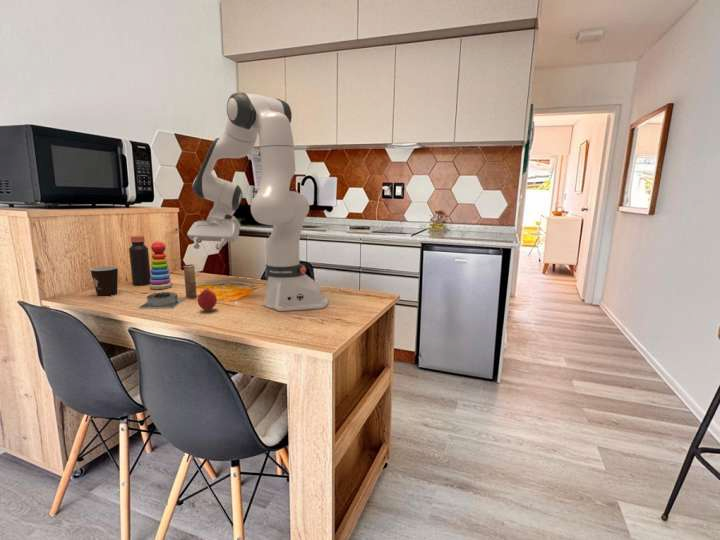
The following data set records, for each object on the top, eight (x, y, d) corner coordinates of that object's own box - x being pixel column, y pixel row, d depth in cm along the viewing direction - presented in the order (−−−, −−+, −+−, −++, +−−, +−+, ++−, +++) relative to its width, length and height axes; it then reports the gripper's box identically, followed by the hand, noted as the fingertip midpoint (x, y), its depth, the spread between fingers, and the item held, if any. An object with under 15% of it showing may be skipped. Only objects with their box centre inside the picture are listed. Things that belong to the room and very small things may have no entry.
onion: (215, 313, 128) (213, 289, 126) (196, 314, 127) (194, 290, 125) (218, 308, 133) (217, 285, 132) (200, 308, 132) (199, 285, 131)
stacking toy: (163, 290, 155) (158, 243, 151) (145, 289, 156) (140, 242, 152) (176, 285, 162) (172, 240, 158) (159, 284, 164) (154, 239, 160)
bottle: (153, 282, 168) (149, 235, 164) (147, 285, 162) (142, 237, 157) (136, 282, 167) (131, 235, 163) (129, 286, 161) (124, 237, 157)
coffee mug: (121, 295, 147) (118, 269, 145) (93, 298, 142) (90, 271, 140) (119, 288, 156) (116, 264, 154) (93, 291, 152) (89, 266, 150)
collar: (184, 299, 143) (184, 291, 143) (173, 308, 133) (172, 299, 132) (153, 299, 143) (152, 291, 142) (139, 308, 132) (138, 300, 131)
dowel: (198, 295, 148) (195, 264, 145) (194, 298, 144) (192, 266, 142) (188, 296, 148) (185, 264, 145) (184, 298, 144) (181, 266, 141)
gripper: (191, 215, 161) (178, 242, 153) (238, 216, 157) (227, 244, 150) (199, 225, 166) (186, 251, 158) (244, 226, 162) (233, 254, 155)
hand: (206, 248), depth 154 cm, fingers open, 8 cm apart
